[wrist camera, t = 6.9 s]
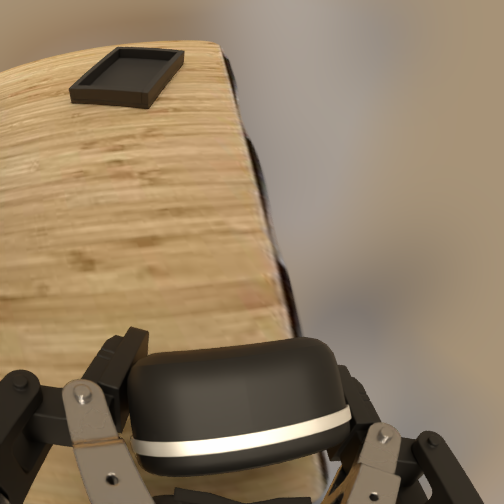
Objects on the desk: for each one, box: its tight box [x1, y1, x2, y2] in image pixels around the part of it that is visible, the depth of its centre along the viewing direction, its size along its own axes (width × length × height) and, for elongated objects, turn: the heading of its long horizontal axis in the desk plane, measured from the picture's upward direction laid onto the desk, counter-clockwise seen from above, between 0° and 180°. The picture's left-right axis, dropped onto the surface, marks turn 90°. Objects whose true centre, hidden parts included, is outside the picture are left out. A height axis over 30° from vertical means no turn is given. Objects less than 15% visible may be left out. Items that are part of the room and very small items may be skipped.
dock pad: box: [69, 47, 185, 109], centre depth 30 cm, size 11×13×2 cm
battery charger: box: [127, 337, 351, 477], centre depth 12 cm, size 7×4×11 cm, turn 100°
